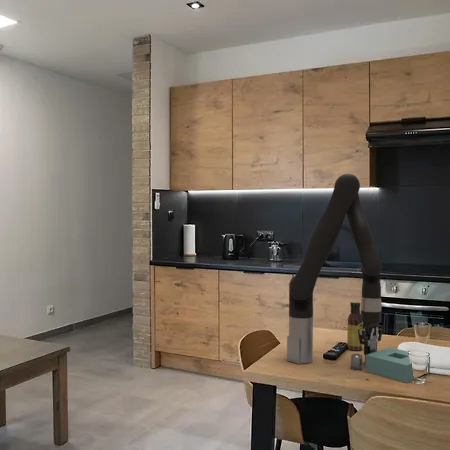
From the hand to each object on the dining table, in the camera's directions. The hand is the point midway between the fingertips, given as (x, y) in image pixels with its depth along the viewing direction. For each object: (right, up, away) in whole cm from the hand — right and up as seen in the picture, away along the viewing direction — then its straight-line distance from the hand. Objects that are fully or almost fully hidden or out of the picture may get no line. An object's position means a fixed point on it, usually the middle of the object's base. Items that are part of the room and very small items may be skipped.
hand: (370, 353), depth 193 cm
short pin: (-7, -4, -6) cm, 10 cm away
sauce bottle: (-1, -3, +21) cm, 21 cm away
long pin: (0, -4, 0) cm, 4 cm away
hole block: (+7, -4, -10) cm, 13 cm away
